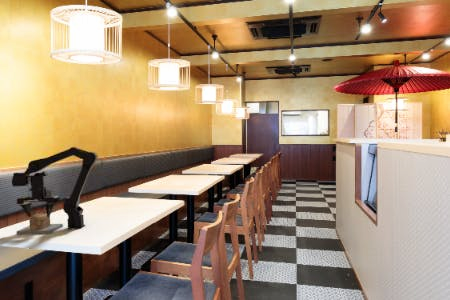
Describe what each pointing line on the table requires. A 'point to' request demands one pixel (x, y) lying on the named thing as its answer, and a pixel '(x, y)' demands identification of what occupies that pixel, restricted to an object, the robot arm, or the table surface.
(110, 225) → the table surface
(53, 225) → the gray rectangular slab
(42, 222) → the shipping carton
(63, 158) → the robot arm
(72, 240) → the table surface
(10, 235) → the table surface
